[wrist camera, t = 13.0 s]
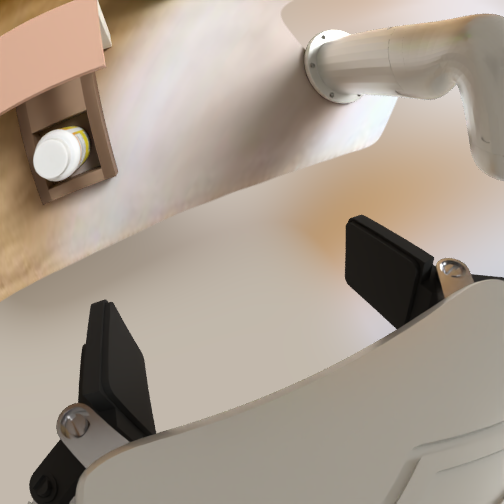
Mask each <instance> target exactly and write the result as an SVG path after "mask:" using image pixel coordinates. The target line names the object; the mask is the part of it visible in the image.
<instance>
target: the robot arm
mask: <svg viewBox="0 0 504 504" xmlns="http://www.w3.org/2000/svg"><path fill="white" fill-rule="evenodd" d="M304 63H305V70H306V73H307V76H308V78H309V80H310V83H311V84H312V86H313V87H314V88H315V90H316V91H317V92H318V93H319V94H320V95H322V96H323V97H324V98H326V99H328V100H330V101H332V102H335V103H343V104H344V103H352V102H355V101H357V100H358V99H360V98H361V97H362V96H363V95H380V96H394V97H406V98H415V99H424V100H432V99H437V98H440V97H442V96H444V95H445V94H447V93H448V92H449V91H450V90H451V89H452V88H453V87H454V86H455V85H456V84H457V85H458V88H459V90H460V94H461V99H462V101H463V106H464V111H465V117H466V123H467V129H468V136H469V143H470V149H471V153H472V156H473V159H474V161H475V163H476V165H477V166H478V168H479V169H480V170H481V171H483V172H484V173H485V174H487V175H488V176H490V177H492V178H495V179H498V180H502V181H504V17H503V16H500V15H496V14H475V15H469V16H463V17H458V18H453V19H447V20H442V21H436V22H428V23H420V24H412V25H403V26H395V27H388V28H382V29H376V30H370V31H366V32H360V33H356V34H351V35H350V34H348V33H345V32H343V31H339V30H328V31H324V32H321V33H319V34H317V35H316V36H314V37H313V38H312V39H311V40H310V42H309V44H308V45H307V48H306V51H305V58H304ZM310 66H311V67H310ZM345 259H346V261H345V279H346V282H347V284H348V285H349V286H350V287H352V289H354V290H355V291H356V292H357V293H358V294H359V295H360V296H361V297H362V298H364V299H365V300H366V301H367V302H368V303H369V304H370V305H371V306H372V307H373V308H375V309H376V310H377V311H378V312H379V313H380V314H381V315H382V316H383V317H384V318H385V319H386V320H387V321H389V322H390V323H391V324H392V325H393V326H394V327H395V328H396V329H397V330H395V331H394V332H392V333H390V334H389V335H387V336H385V337H384V338H382V339H380V340H379V341H377V342H375V343H373V344H372V345H370V346H368V347H366V348H364V349H363V350H361V351H359V352H357V353H355V354H354V355H352V356H350V357H348V358H346V359H344V360H342V361H340V362H338V363H336V364H335V365H333V366H331V367H329V368H327V369H325V370H323V371H321V372H319V373H317V374H314V375H312V376H310V377H308V378H306V379H304V380H302V381H299V382H297V383H295V384H293V385H290V386H288V387H286V388H284V389H281V390H279V391H277V392H274V393H272V394H270V395H267V396H265V397H263V398H260V399H257V400H255V401H252V402H250V403H247V404H245V405H242V406H239V407H236V408H234V409H231V410H228V411H225V412H223V413H219V414H217V415H214V416H211V417H208V418H205V419H202V420H200V421H196V422H193V423H190V424H187V425H183V426H180V427H177V428H174V429H170V430H166V431H163V432H160V433H157V434H156V430H155V425H154V419H153V414H152V408H151V403H150V397H149V391H148V384H147V377H146V370H145V363H144V358H143V355H142V353H141V351H140V349H139V347H138V346H137V344H136V342H135V341H134V339H133V337H132V336H131V334H130V333H129V330H128V329H127V327H126V325H125V324H124V322H123V320H122V318H121V316H120V314H119V313H118V311H117V309H116V307H115V305H114V303H113V302H109V303H108V301H107V300H102V301H99V302H97V303H93V304H91V308H90V315H89V323H88V330H87V339H86V344H84V345H83V347H82V354H81V365H80V380H79V397H78V403H75V404H72V405H70V406H68V407H66V408H65V409H64V410H63V411H62V413H61V414H60V415H59V417H58V420H57V426H56V429H57V433H58V435H59V437H60V440H59V442H58V443H57V444H56V445H55V447H54V448H53V449H52V450H51V452H50V453H49V454H48V455H47V457H46V458H45V459H44V460H43V462H42V463H41V464H40V465H39V467H38V468H37V469H36V471H35V472H34V473H33V475H32V477H31V479H30V484H29V486H30V493H31V496H32V498H33V502H32V503H31V502H28V504H504V278H503V277H493V276H483V275H473V274H471V273H470V271H469V269H468V267H467V266H466V265H465V264H464V263H463V262H461V261H459V260H456V259H452V258H444V259H441V260H440V261H438V262H437V264H436V267H435V266H434V265H433V260H434V257H433V256H431V255H429V254H428V253H427V252H425V251H424V250H422V249H420V248H419V247H417V246H415V245H414V244H412V243H411V242H409V241H407V240H406V239H404V238H402V237H400V236H399V235H397V234H395V233H394V232H392V231H390V230H389V229H387V228H385V227H384V226H382V225H380V224H378V223H377V222H375V221H373V220H371V219H369V218H368V217H366V216H364V215H359V216H356V217H353V218H350V219H349V221H348V223H347V224H346V258H345Z"/></svg>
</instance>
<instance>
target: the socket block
mask: <svg viewBox="0 0 504 504" xmlns="http://www.w3.org/2000/svg"><path fill="white" fill-rule="evenodd" d="M16 112H17V117H18V122H19V126H20V131H21V135H22V139H23V143H24V147H25V151H26V154H27V158H28V161H29V165H30V168H31V171H32V175H33V178H34V181H35V184H36V187H37V190H38V193H39V196H40V198H41V201H42V204H43V205H44V204H46V203H49V202H51V201H53V200H56V199H58V198H60V197H63V196H65V195H67V194H70V193H72V192H75V191H77V190H80V189H82V188H85V187H87V186H90V185H93V184H95V183H98V182H101V181H103V180H106V179H109V178H112V177H114V176H116V175H117V173H118V169H117V166H116V162H115V159H114V155H113V151H112V148H111V144H110V140H109V136H108V132H107V128H106V124H105V119H104V115H103V111H102V106H101V101H100V97H99V92H98V87H97V81H96V76H95V71H94V72H92V73H89V74H86V75H83V76H81V77H78V78H76V79H73V80H71V81H68V82H66V83H64V84H61V85H59V86H57V87H55V88H52V89H50V90H48V91H46V92H44V93H42V94H40V95H38V96H36V97H34V98H32V99H30V100H28V101H26V102H24V103H22V104H20V105H18V106H17V107H16ZM85 112H87V115H88V119H89V124H90V128H91V132H92V136H93V140H94V144H95V147H96V151H97V155H98V158H99V162H100V165H101V166H99V167H96V168H94V169H91V170H89V171H86V172H83V173H81V174H78V175H76V176H73V177H71V178H69V179H66V180H64V181H62V182H59V183H57V184H54V181H50V180H47V179H45V178H43V177H41V176H40V175H39V174H38V173H37V172H36V170H35V168H34V164H33V157H34V153H35V149H36V146H37V144H38V142H39V141H40V139H41V135H40V132H41V131H43V130H45V129H47V128H49V127H51V126H54V125H56V124H58V123H60V122H63V121H65V120H67V119H70V118H72V117H75V116H77V115H79V114H82V113H85Z"/></svg>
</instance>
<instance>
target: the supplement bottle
mask: <svg viewBox="0 0 504 504" xmlns="http://www.w3.org/2000/svg"><path fill="white" fill-rule="evenodd" d="M90 151H91V139H90V136H89V135H88V133H87V132H86V131H85V130H84V129H82V128H81V127H77V126H70V127H65V128H61V129H56V130H53V131H50V132H48V133H47V134H45V135H44V136H43V137H42V138H41V139H40V141H39V142H38V144H37V146H36V149H35V153H34V157H33V164H34V168H35V170H36V172H37V173H38V174H39V175H40V176H41V177H43V178H45V179H47V180H50V181H61V180H64V179H66V178H67V177H69V176H70V175H71V174H72V173H73V172H74V171H76V170H77V169H78V168H79V167H80V166H81V165H82V164H83V163H84V162H85V161H86V160H87V158H88V156H89V154H90Z"/></svg>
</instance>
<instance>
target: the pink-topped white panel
mask: <svg viewBox="0 0 504 504" xmlns="http://www.w3.org/2000/svg"><path fill="white" fill-rule="evenodd" d="M109 47H112V44H111V38H110V33H109V30H108V27H107V25H106V22H105V19H104V16H103V14H102V11H101V8H100V5H99V2H98V0H74V1H72V2H69V3H66V4H64V5H61V6H59V7H57V8H54V9H52V10H50V11H48V12H45V13H43V14H41V15H39V16H37V17H35V18H33V19H31V20H29V21H27V22H25V23H23V24H21V25H19V26H18V27H16V28H14V29H12V30H10V31H9V32H7V33H5V34H4V35H2V36H0V116H1V115H3V114H4V113H6V112H8V111H9V110H11V109H13V108H15V107H17V106H18V105H20V104H22V103H24V102H26V101H28V100H30V99H32V98H34V97H36V96H38V95H40V94H42V93H44V92H46V91H48V90H50V89H52V88H55V87H57V86H59V85H61V84H64V83H66V82H68V81H71V80H73V79H76V78H78V77H81V76H83V75H86V74H89V73H92V72H94V71H97V70H100V69H103V68H106V64H105V58H104V52H103V49H106V48H109Z"/></svg>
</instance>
